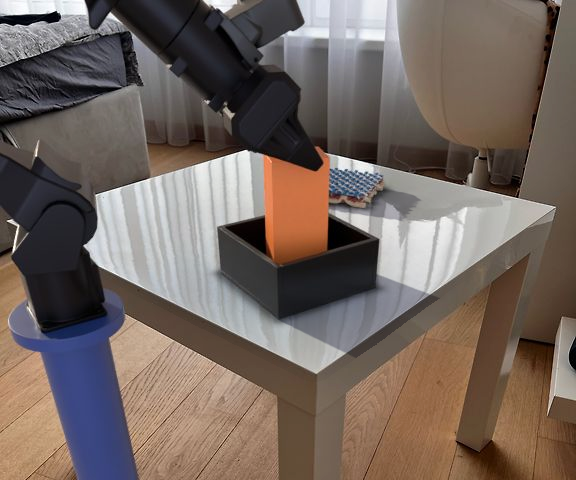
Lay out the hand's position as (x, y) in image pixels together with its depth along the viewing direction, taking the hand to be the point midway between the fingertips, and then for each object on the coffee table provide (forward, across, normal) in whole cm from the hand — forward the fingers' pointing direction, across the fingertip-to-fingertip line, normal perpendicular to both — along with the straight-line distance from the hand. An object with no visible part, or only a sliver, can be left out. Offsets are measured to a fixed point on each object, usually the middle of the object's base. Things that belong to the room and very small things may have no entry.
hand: (305, 153), depth 59 cm
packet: (+8, 0, +10) cm, 13 cm away
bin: (+9, 0, +10) cm, 13 cm away
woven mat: (+19, +25, 0) cm, 32 cm away
